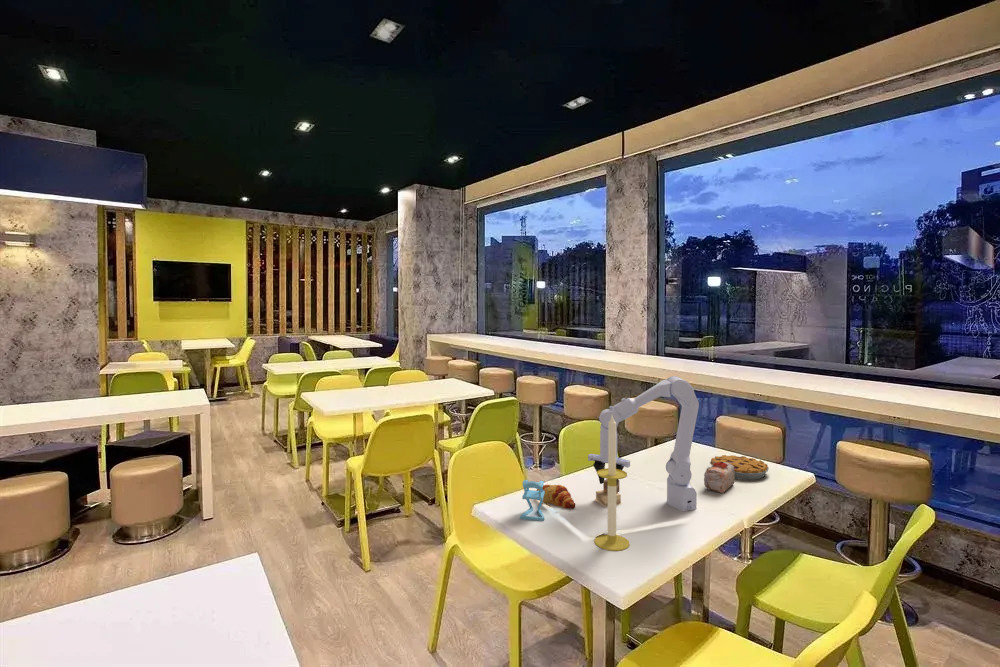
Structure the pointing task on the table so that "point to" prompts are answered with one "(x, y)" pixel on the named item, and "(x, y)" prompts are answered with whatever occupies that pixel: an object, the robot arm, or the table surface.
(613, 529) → the candle
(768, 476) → the table surface
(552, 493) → the croissant
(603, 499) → the oak base
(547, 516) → the table surface
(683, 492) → the robot arm
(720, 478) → the food item
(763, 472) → the pie
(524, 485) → the chair
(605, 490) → the walnut block
